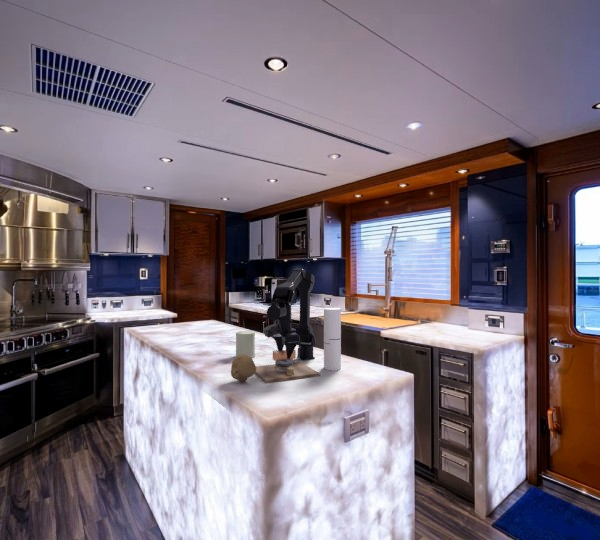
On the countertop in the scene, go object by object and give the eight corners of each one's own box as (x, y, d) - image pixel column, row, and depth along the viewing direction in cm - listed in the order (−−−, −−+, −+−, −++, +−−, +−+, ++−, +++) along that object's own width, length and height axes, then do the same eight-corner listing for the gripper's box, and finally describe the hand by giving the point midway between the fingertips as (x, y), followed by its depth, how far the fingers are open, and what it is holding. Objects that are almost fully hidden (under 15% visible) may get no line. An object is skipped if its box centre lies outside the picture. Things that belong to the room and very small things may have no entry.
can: (233, 355, 173) (233, 330, 173) (251, 353, 177) (251, 329, 177) (238, 359, 164) (238, 333, 164) (257, 357, 168) (257, 332, 168)
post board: (299, 363, 157) (299, 356, 157) (319, 375, 139) (319, 367, 139) (250, 369, 148) (250, 361, 148) (266, 383, 130) (266, 374, 130)
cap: (291, 361, 148) (291, 347, 148) (297, 365, 142) (297, 350, 142) (270, 363, 145) (270, 349, 145) (276, 367, 138) (276, 353, 138)
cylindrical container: (340, 370, 146) (340, 309, 146) (322, 369, 147) (322, 309, 147) (341, 366, 153) (341, 308, 153) (325, 365, 154) (325, 307, 154)
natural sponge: (259, 379, 134) (259, 352, 134) (249, 386, 126) (249, 358, 126) (238, 377, 137) (238, 351, 137) (226, 384, 128) (226, 356, 128)
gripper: (258, 315, 149) (258, 353, 149) (273, 321, 132) (273, 363, 132) (282, 314, 153) (282, 350, 153) (300, 319, 136) (300, 360, 136)
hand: (284, 356), depth 143 cm, fingers open, 9 cm apart
